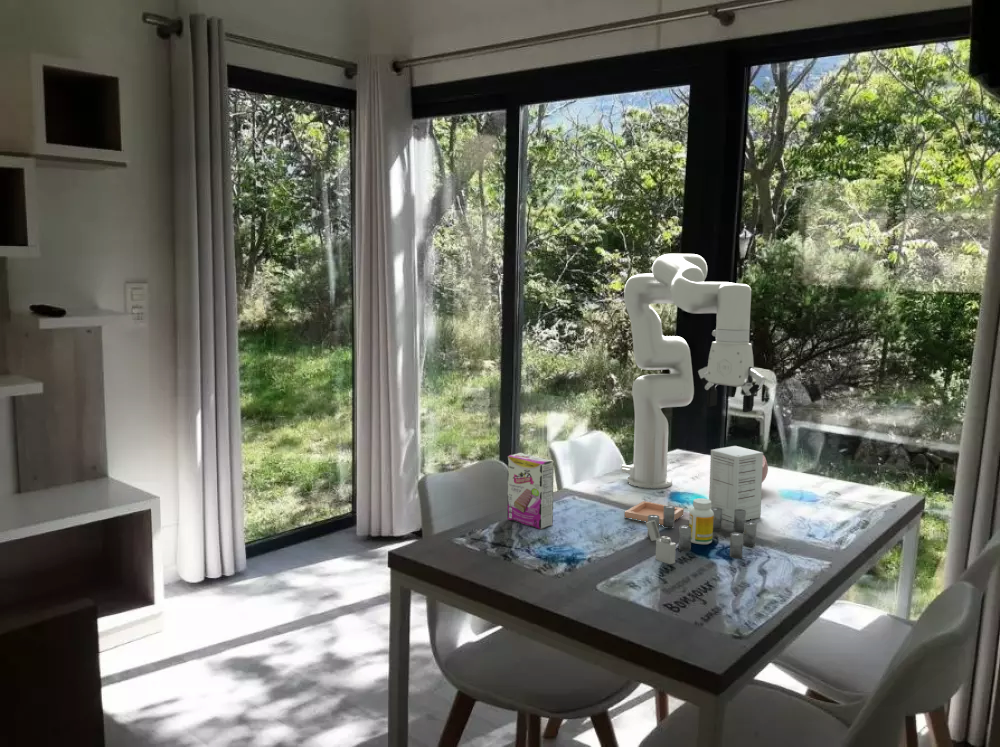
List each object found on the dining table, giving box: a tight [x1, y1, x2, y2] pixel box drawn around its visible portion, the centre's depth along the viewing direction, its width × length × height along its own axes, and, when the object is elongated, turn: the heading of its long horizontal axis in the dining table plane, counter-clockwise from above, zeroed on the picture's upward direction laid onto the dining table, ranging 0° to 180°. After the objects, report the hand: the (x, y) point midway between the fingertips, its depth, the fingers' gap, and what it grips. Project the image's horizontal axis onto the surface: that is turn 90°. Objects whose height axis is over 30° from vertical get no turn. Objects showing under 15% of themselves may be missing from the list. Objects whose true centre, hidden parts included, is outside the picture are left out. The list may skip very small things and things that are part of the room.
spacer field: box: [646, 504, 757, 560], centre depth 191 cm, size 23×22×5 cm
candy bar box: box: [506, 452, 555, 530], centre depth 201 cm, size 11×5×16 cm, turn 47°
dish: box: [624, 500, 685, 525], centre depth 207 cm, size 11×11×2 cm
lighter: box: [645, 520, 677, 565], centre depth 178 cm, size 7×2×8 cm, turn 40°
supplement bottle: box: [688, 497, 714, 545], centre depth 189 cm, size 5×5×10 cm
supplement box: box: [708, 445, 764, 523], centre depth 207 cm, size 10×9×17 cm
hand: (729, 408), depth 195 cm, fingers open, 9 cm apart
